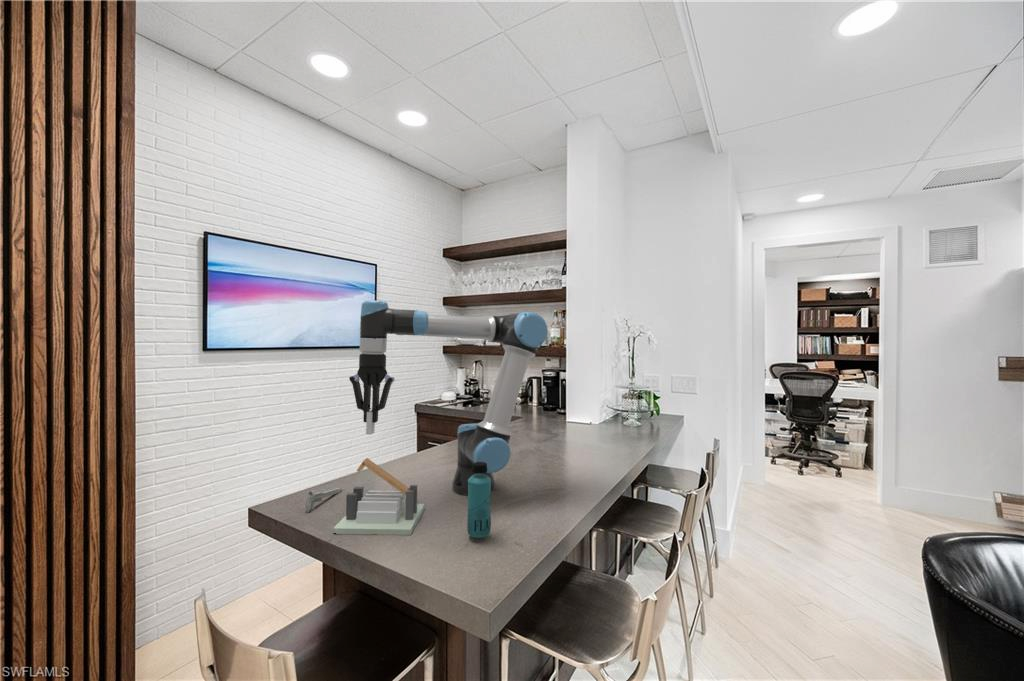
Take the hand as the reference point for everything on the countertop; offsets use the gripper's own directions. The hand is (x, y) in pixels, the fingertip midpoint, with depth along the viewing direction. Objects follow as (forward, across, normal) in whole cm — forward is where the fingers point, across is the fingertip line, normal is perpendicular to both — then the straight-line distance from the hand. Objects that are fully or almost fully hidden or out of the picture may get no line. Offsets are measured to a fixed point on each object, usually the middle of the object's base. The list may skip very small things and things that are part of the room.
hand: (370, 433), depth 125 cm
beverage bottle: (+25, -34, +10) cm, 43 cm away
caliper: (+26, +18, -13) cm, 34 cm away
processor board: (+25, -5, +1) cm, 25 cm away
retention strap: (+15, -5, +1) cm, 16 cm away
